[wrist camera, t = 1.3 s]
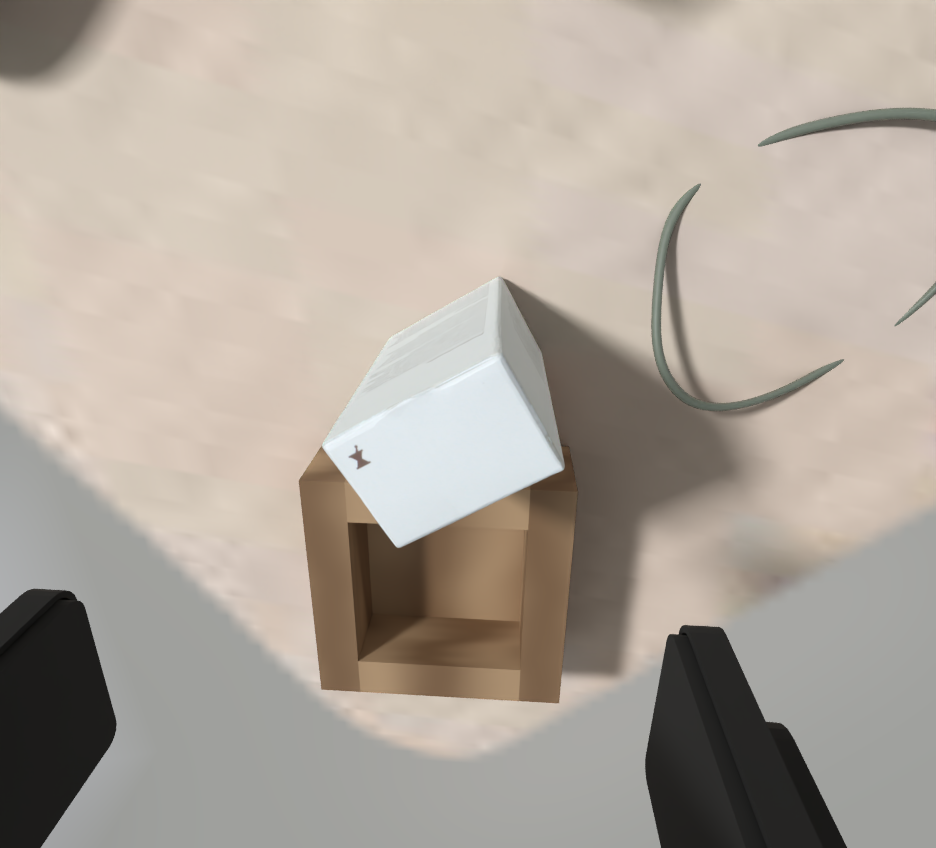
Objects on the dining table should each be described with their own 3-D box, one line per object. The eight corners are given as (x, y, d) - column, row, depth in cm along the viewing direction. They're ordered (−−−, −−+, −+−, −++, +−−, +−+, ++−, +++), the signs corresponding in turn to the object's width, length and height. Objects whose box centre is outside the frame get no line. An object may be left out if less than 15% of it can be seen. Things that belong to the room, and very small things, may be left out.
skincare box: (435, 411, 30) (392, 555, 19) (388, 336, 29) (312, 444, 18) (547, 353, 29) (570, 473, 18) (503, 271, 27) (498, 346, 16)
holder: (568, 446, 30) (577, 491, 26) (553, 639, 35) (558, 703, 31) (327, 438, 31) (298, 480, 27) (343, 628, 36) (321, 689, 32)
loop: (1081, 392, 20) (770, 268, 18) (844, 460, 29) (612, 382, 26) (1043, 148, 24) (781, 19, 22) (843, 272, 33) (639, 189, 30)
